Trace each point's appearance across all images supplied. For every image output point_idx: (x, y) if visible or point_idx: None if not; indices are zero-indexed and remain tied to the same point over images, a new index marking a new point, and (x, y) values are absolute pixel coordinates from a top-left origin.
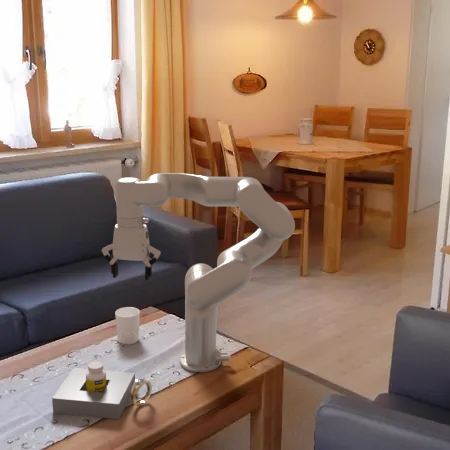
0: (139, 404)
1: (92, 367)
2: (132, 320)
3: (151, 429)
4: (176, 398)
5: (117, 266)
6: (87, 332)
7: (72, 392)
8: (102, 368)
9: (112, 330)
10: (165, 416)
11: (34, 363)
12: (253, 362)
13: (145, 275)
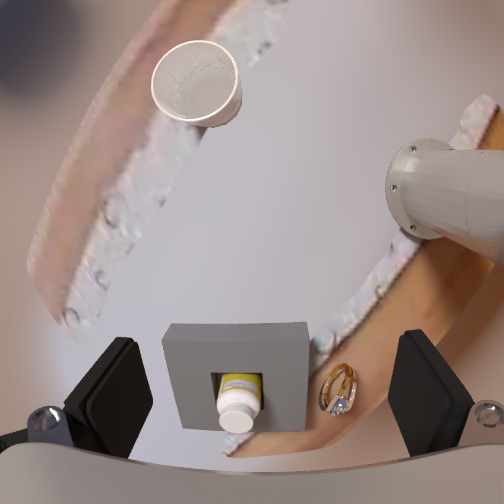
0: (331, 380)
1: (233, 430)
2: (225, 110)
3: (359, 417)
4: (394, 339)
5: (111, 402)
6: (101, 98)
7: (207, 414)
8: (253, 420)
9: (155, 65)
10: (378, 388)
11: (66, 268)
12: None
13: (398, 420)
